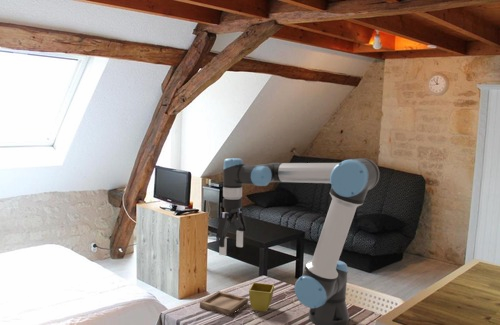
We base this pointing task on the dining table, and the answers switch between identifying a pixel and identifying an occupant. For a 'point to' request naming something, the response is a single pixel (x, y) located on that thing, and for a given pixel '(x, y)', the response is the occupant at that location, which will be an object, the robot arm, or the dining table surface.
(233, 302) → the walnut tray
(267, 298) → the flower pot
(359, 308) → the dining table surface
